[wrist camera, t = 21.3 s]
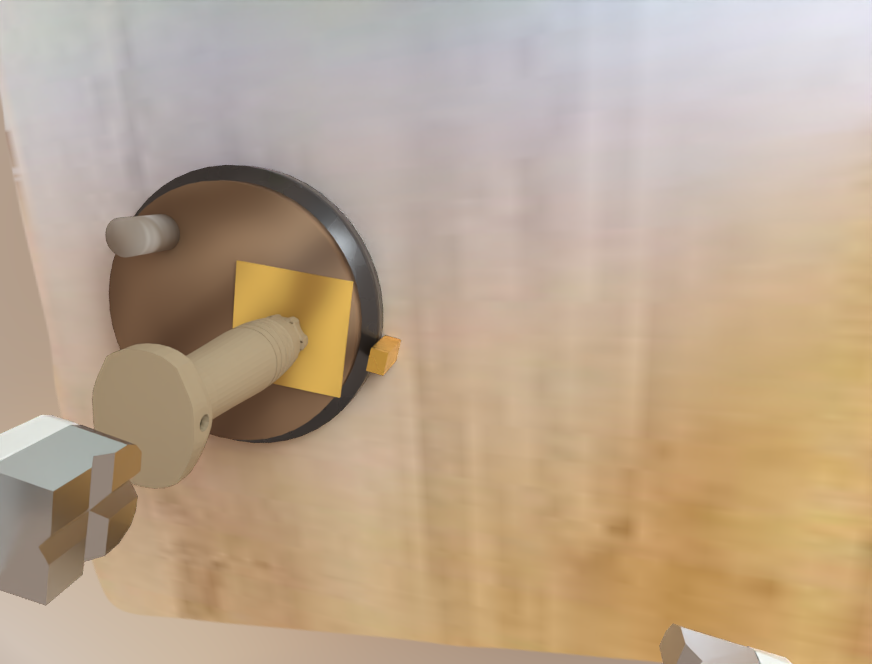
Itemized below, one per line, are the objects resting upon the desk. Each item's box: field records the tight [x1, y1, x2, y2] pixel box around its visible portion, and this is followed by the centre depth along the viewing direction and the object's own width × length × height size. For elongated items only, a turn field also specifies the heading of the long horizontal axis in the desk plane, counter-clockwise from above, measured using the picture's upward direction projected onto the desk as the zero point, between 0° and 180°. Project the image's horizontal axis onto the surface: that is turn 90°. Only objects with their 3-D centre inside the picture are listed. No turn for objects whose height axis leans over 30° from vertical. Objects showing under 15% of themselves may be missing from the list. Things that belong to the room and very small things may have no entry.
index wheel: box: [105, 180, 362, 440], centre depth 40 cm, size 18×18×6 cm
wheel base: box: [135, 165, 401, 443], centre depth 43 cm, size 20×21×4 cm
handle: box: [92, 314, 308, 489], centre depth 33 cm, size 5×6×15 cm
